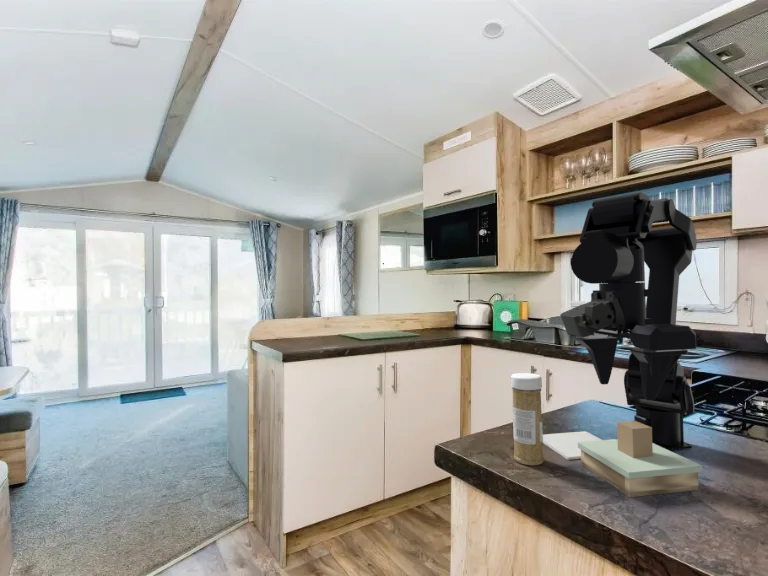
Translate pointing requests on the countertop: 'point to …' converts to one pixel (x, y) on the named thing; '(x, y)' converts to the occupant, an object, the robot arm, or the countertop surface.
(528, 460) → the sprinkles bottle
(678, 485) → the box
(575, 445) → the mat
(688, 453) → the countertop surface
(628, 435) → the lid
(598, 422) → the countertop surface
